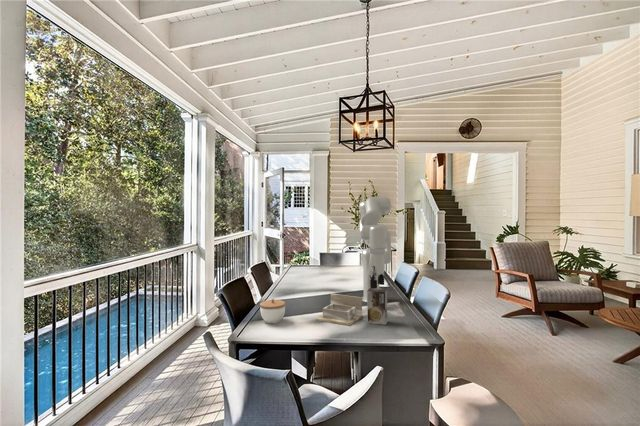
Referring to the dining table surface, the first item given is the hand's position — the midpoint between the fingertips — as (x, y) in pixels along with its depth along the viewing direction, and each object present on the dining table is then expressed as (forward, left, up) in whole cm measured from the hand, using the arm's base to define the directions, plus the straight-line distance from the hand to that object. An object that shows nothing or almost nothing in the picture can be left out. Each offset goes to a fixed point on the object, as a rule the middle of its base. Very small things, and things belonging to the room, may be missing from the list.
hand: (377, 286), depth 177 cm
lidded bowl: (+24, -46, -18) cm, 55 cm away
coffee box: (0, 0, -18) cm, 18 cm away
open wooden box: (+4, -19, -18) cm, 26 cm away
